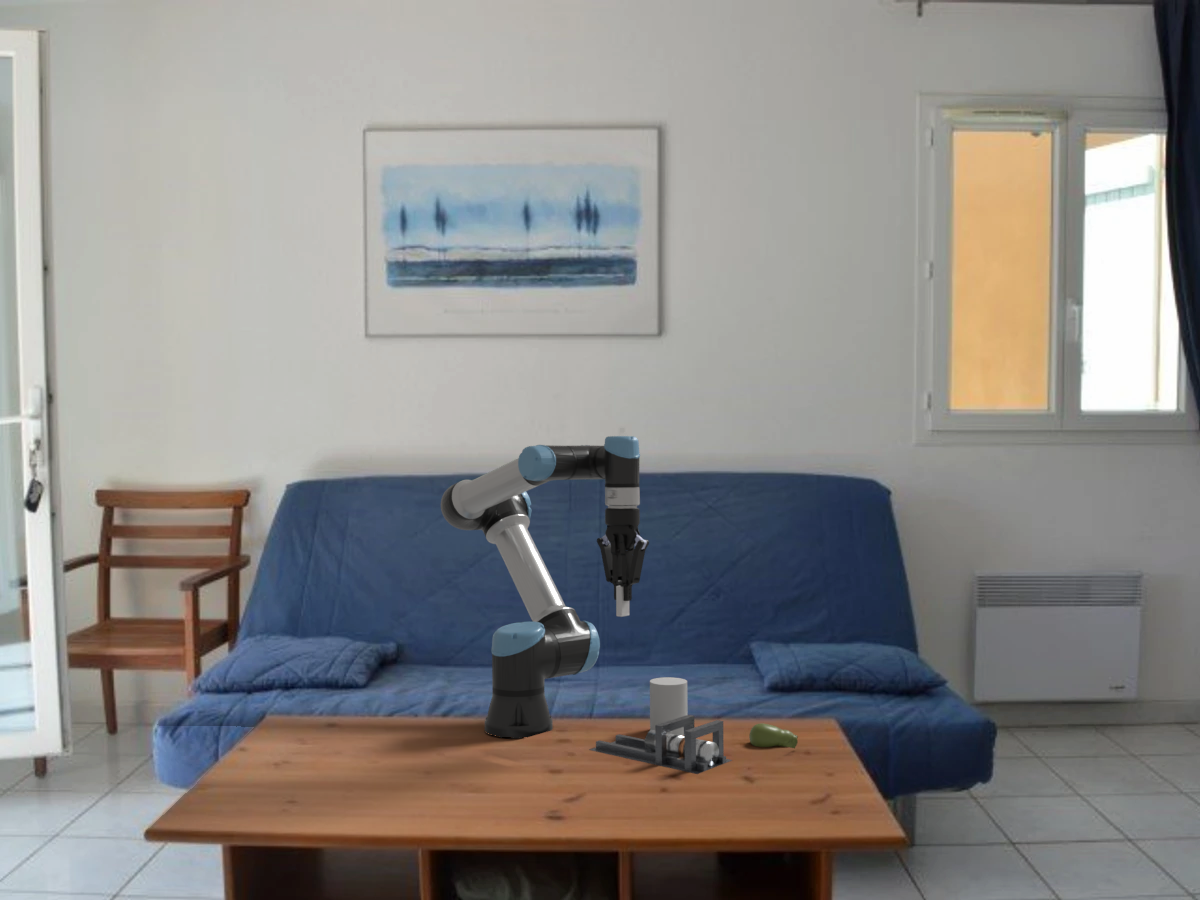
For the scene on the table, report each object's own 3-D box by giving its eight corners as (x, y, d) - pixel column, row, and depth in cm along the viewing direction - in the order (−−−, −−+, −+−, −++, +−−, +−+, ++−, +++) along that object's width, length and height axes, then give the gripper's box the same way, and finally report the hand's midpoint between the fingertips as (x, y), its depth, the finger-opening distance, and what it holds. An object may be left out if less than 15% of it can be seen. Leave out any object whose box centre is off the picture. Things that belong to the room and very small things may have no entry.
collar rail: (588, 754, 223) (588, 712, 223) (625, 742, 233) (625, 702, 233) (697, 779, 206) (697, 734, 206) (732, 765, 215) (732, 722, 215)
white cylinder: (687, 731, 241) (687, 677, 241) (687, 741, 233) (686, 685, 233) (651, 731, 242) (650, 677, 242) (649, 740, 234) (648, 684, 234)
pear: (749, 718, 230) (796, 726, 230) (745, 743, 230) (792, 751, 230) (753, 725, 224) (801, 733, 224) (749, 750, 224) (797, 758, 224)
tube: (643, 751, 219) (646, 729, 220) (656, 752, 222) (659, 730, 223) (704, 765, 210) (707, 741, 210) (717, 766, 213) (720, 743, 214)
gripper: (588, 506, 238) (588, 615, 238) (635, 508, 230) (635, 620, 230) (610, 505, 244) (610, 611, 244) (656, 507, 236) (657, 616, 236)
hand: (622, 615), depth 237 cm, fingers closed
